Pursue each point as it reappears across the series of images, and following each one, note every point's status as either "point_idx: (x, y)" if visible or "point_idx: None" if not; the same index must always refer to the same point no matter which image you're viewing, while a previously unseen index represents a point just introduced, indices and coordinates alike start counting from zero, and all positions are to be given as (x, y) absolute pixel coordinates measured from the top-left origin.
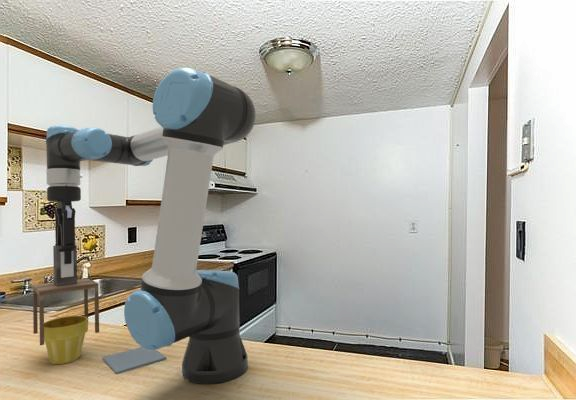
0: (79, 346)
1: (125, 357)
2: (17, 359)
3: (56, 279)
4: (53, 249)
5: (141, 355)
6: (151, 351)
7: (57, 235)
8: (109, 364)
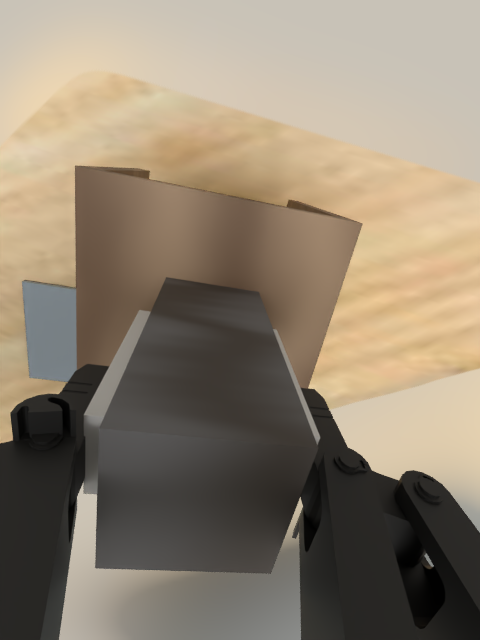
0: None
1: None
2: (322, 168)
3: (169, 290)
4: (302, 418)
5: None
6: None
7: (389, 633)
8: None
